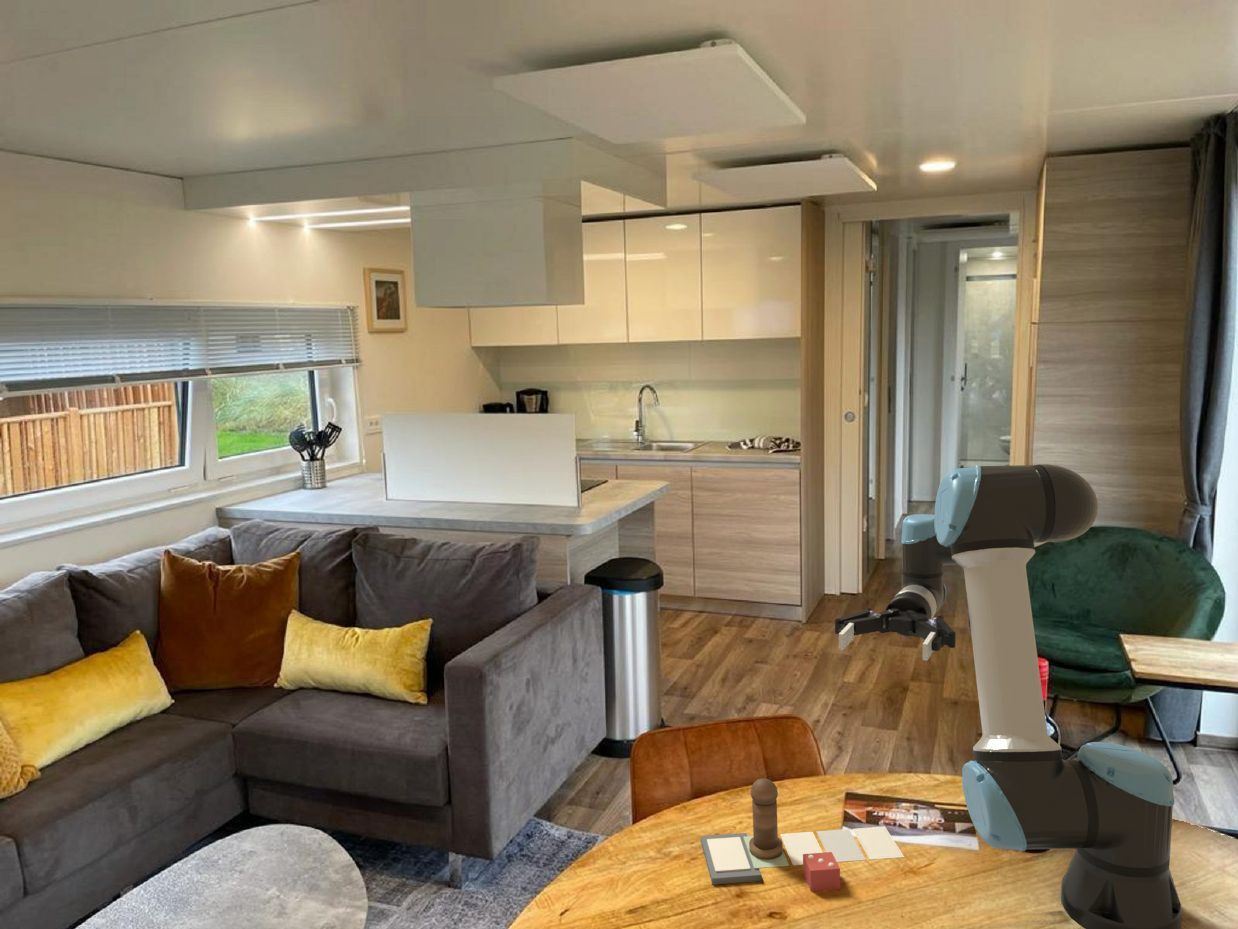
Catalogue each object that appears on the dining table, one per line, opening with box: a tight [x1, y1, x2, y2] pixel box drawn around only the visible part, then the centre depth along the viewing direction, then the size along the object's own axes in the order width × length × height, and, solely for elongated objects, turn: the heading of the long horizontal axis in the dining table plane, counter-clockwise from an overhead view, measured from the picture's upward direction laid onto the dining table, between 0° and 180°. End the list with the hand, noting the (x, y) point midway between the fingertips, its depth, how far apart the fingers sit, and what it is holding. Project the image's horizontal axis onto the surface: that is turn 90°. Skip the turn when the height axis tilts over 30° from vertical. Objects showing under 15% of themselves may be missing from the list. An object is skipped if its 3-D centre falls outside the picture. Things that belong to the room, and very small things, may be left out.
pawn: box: [749, 778, 784, 860], centre depth 151 cm, size 5×5×12 cm
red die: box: [802, 851, 841, 892], centre depth 143 cm, size 4×4×5 cm
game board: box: [700, 825, 905, 886], centre depth 152 cm, size 12×31×1 cm, turn 93°
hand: (882, 647), depth 157 cm, fingers open, 13 cm apart
